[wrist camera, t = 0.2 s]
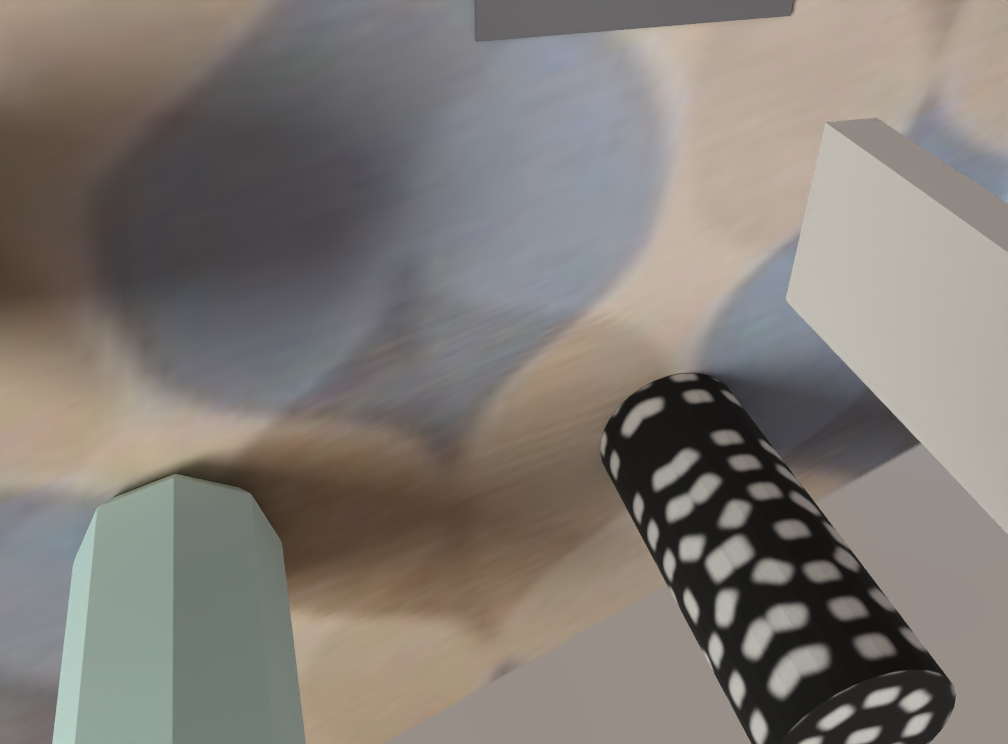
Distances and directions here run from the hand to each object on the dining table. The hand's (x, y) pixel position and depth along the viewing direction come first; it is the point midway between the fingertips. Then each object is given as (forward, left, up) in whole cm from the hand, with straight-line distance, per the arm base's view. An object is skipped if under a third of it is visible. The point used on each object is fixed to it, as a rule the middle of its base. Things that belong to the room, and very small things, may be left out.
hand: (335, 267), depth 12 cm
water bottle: (+30, -7, -28) cm, 42 cm away
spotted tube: (+29, +20, -28) cm, 45 cm away
